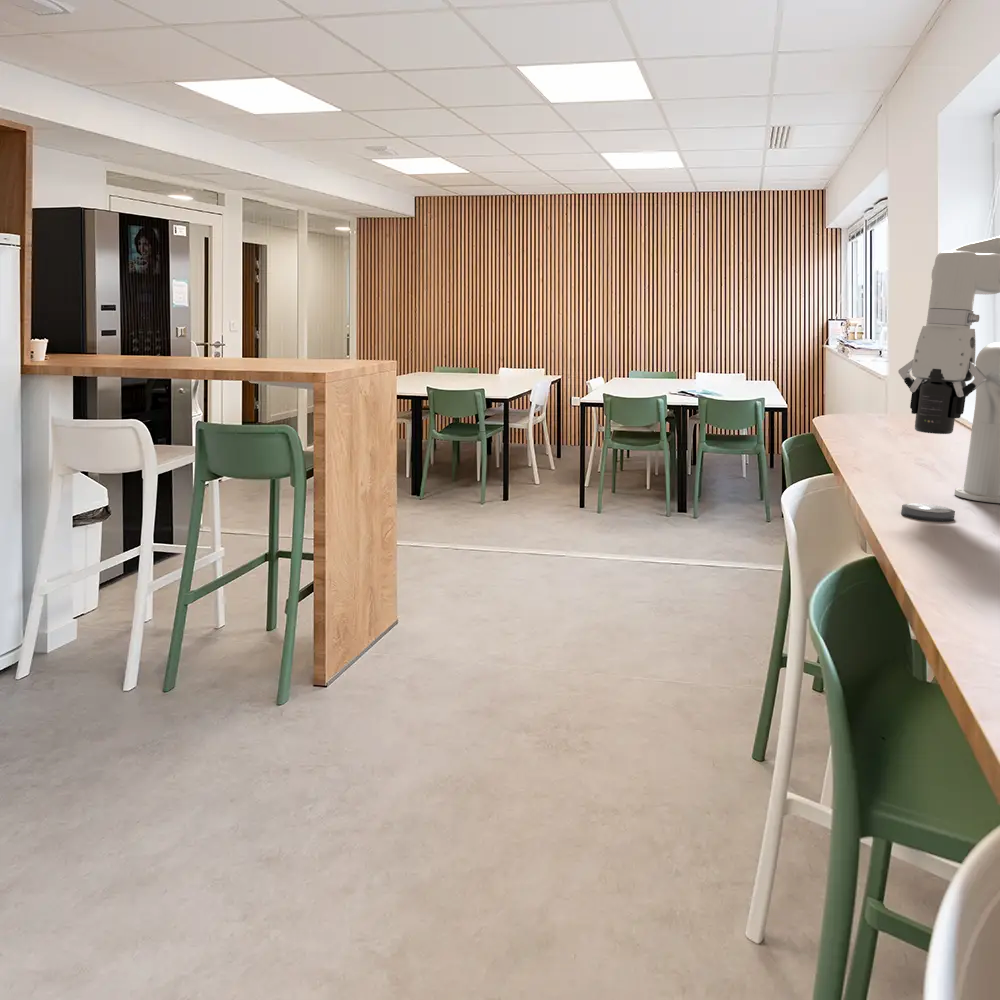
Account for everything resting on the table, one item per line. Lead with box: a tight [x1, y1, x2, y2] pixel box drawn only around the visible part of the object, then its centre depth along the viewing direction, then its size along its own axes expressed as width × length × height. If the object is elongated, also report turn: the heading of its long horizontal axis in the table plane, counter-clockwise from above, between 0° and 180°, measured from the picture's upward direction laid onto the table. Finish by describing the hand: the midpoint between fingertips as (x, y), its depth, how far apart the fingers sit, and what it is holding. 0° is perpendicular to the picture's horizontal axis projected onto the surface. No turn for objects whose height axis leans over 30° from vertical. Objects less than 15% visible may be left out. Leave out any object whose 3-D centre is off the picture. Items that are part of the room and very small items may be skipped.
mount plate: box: [900, 502, 956, 523], centre depth 186 cm, size 9×9×2 cm
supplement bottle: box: [914, 369, 956, 435], centre depth 191 cm, size 7×7×12 cm
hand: (935, 414), depth 191 cm, fingers closed on supplement bottle, 6 cm apart
